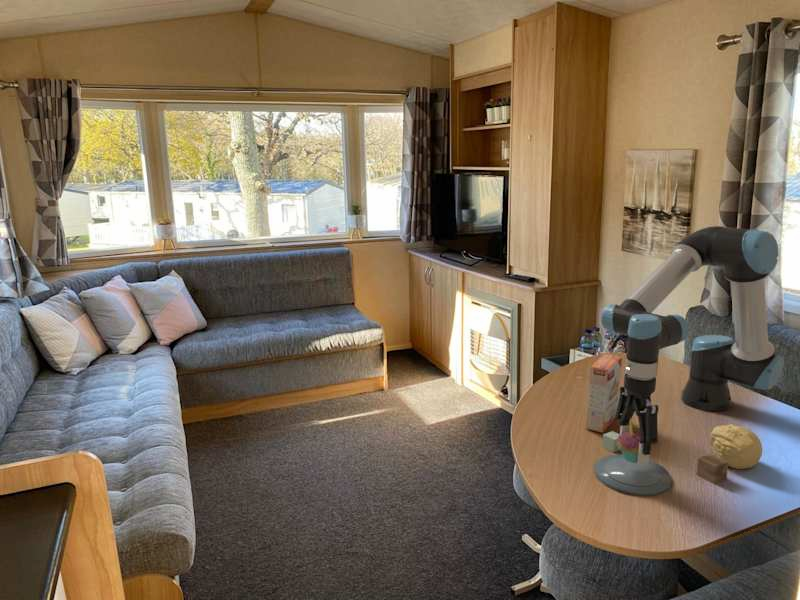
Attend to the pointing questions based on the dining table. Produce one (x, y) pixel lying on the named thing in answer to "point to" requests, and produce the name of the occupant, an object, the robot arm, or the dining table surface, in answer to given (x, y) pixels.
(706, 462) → the walnut block
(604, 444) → the sage block
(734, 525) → the dining table surface
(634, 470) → the plate
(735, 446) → the sculpture
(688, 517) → the dining table surface
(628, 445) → the cupcake
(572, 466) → the dining table surface
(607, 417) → the cracker box
